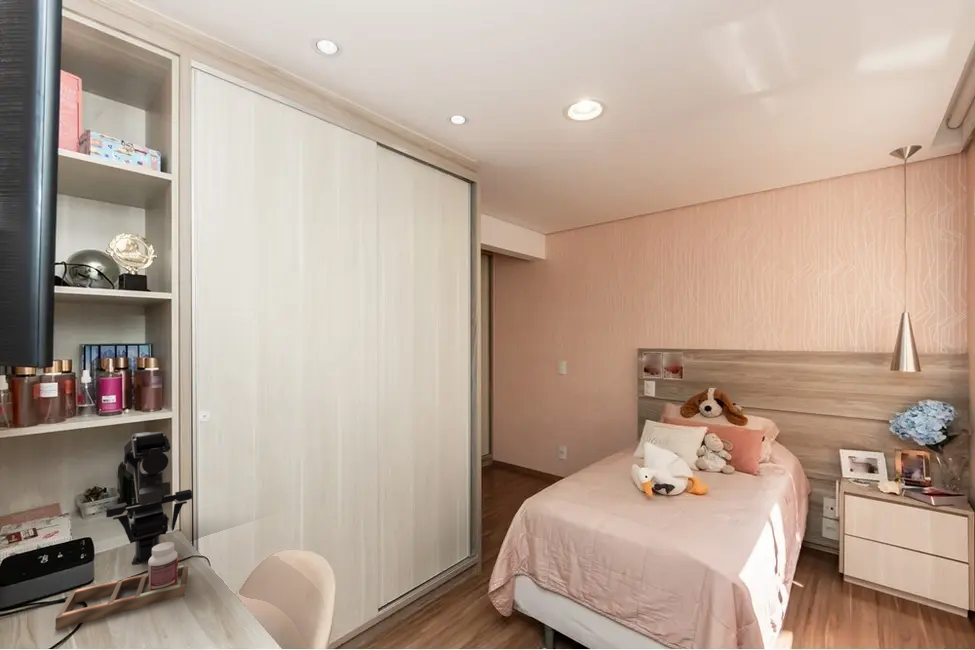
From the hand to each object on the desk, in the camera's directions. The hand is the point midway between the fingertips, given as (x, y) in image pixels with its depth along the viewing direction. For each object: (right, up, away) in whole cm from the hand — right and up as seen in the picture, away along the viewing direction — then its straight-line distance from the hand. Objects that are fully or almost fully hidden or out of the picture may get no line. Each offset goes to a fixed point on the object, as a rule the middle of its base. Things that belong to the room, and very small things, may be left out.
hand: (152, 535), depth 119 cm
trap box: (+2, -11, -10) cm, 15 cm away
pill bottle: (+8, -11, -6) cm, 15 cm away
